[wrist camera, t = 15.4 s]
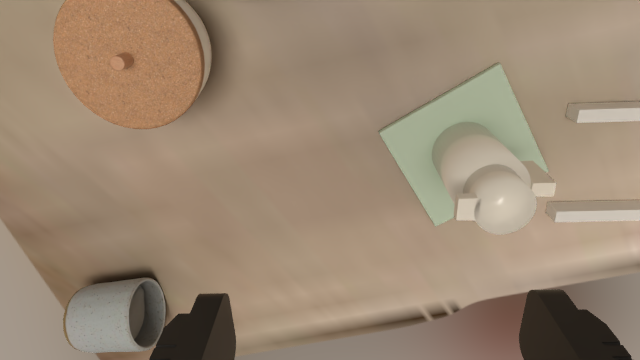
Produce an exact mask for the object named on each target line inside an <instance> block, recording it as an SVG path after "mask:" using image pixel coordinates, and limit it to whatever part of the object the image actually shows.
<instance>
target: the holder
mask: <svg viewBox="0 0 640 360" xmlns="http://www.w3.org/2000/svg"><path fill="white" fill-rule="evenodd" d="M566 117H568V118H569V119H571V120H573V121H574V122H576V123H592V122H624V121H640V101H631V102H601V103H571V104H568V107H567V112H566ZM546 213H547V214H548V216H549V217H550V218H551V219H552V220H553V221H554V222H595V221H640V200H610V201H567V202H548V203H547V208H546Z"/></svg>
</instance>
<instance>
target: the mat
mask: <svg viewBox="0 0 640 360" xmlns="http://www.w3.org/2000/svg"><path fill="white" fill-rule="evenodd" d="M462 122H474V123H478V124H481V125H483V126H484V127H486V128H487V129H488V130H489V131H490V132H491V133H492V134H493V135H494V136H495V137H496V138H497V139H498V140H499V141H500V142H501V143H502V144H503V145H504V146H505V147H506V148H507V149H508V150H509V151H510V152H511V153H512V154H513V155H514V156H515V157H516V158H517V159H518V160H519V161H534V162H535V163H536V164H537V165H538V166H539V167H540V168H541V169H542V170H543V171H545V172H548V171H549V170H548V168H547V166H546V164H545V162H544V159H543V157H542V155H541V153H540V151H539V148H538V146H537V144H536V142H535V139H534V137H533V135H532V133H531V131H530V128H529V126H528V124H527V122H526V120H525V117H524V115H523V113H522V111H521V108H520V106H519V104H518V102H517V100H516V97H515V95H514V93H513V91H512V89H511V86H510V84H509V82H508V80H507V77H506V75H505V73H504V71H503V69H502V66H501V64H500V63H496V64H495V65H493V66H491V67H489V68H488V69H486V70H484V71H482V72H481V73H479V74H477V75H475V76H474V77H472V78H470V79H468V80H467V81H465V82H463V83H462V84H460V85H458V86H456V87H455V88H453V89H451V90H449V91H448V92H446V93H444V94H442V95H441V96H439V97H437V98H435V99H434V100H432V101H430V102H428V103H427V104H425V105H423V106H421V107H420V108H418V109H416V110H414V111H413V112H411V113H409V114H407V115H406V116H404V117H402V118H400V119H399V120H397V121H395V122H393V123H392V124H390V125H388V126H386V127H385V128H383V129H381V130H379V131H378V132H379V134H380V136H381V137H382V139H383V141H384V142H385V144H386V146H387V147H388V149H389V151H390V152H391V154H392V156H393V157H394V159H395V160H396V162H397V164H398V165H399V167H400V169H401V170H402V172H403V174H404V175H405V177H406V179H407V180H408V182H409V184H410V185H411V187H412V189H413V190H414V192H415V194H416V195H417V197H418V198H419V200H420V202H421V203H422V205H423V207H424V208H425V210H426V212H427V213H428V215H429V217H430V218H431V220H432V222H433V223H434V225H435V227H436V226H438V225H440V224H442V223H444V222H446V221H448V220H450V219H452V218H454V206H455V205H454V203H453V201H452V199H451V197H450V195H449V193H448V191H447V189H446V187H445V186H444V184H443V182H442V180H441V178H440V176H439V174H438V172H437V170H436V168H435V166H434V164H433V161H432V149H433V145H434V143H435V141H436V139H437V138H438V136H439V135H440V134H441V133H442V132H443V131H444V130H446V129H447V128H449V127H450V126H452V125H454V124H457V123H462Z"/></svg>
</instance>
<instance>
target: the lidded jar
mask: <svg viewBox="0 0 640 360" xmlns="http://www.w3.org/2000/svg"><path fill="white" fill-rule="evenodd" d="M53 42H54V51H55V56H56V60H57V64H58V66H59V69H60V71H61V74H62V76H63V78H64V80H65V81H66V83H67V85H68V87H69V88H70V89H71V90H72V92H73V93H74V94H75V96H76V97H77V98H78V99H79V100H80V101H81V102H82V103H83V104H84V105H85V106H86V107H87V108H89V109H90V110H91V111H92V112H93V113H95V114H97V115H98V116H100V117H101V118H103V119H105V120H107V121H109V122H111V123H114V124H116V125H120V126H123V127H127V128H133V129H151V128H157V127H160V126H164V125H167V124H169V123H171V122H172V121H174V120H176V119H177V118H179V117H180V116H181V115H183V114H184V113H185V112H186V111H187V110H188V109H189V108H190V106H191V105H192V104H193V103H194V101H195V99H196V98H197V97H198V96H199V95H200V93H201V91H202V90H203V88H204V86H205V84H206V82H207V79H208V77H209V73H210V68H211V58H212V52H211V44H210V40H209V36H208V33H207V31H206V28H205V26H204V24H203V22H202V21H201V19H200V17H199V16H198V14H197V13H196V12H195V11H194V9H193V8H192V7H191V6H190V5H189V4H188V3H187V2H186V1H185V0H65V2H64V3H63V5H62V6H61V8H60V11H59V13H58V15H57V18H56V22H55V27H54V38H53Z"/></svg>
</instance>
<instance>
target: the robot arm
mask: <svg viewBox="0 0 640 360" xmlns="http://www.w3.org/2000/svg"><path fill="white" fill-rule="evenodd" d="M519 343H520V349H521V353H522V356H523V358H524V360H632V359H631V355H630V354H629V353H628V352H627V350H626V349H625V348H624V346H623V345H620V341H619V340H618V339H617V337H616V336H615V335H614V334H613V332H612V331H611V330H610V329H609V327H608V326H607V325H606V324H605V323H604V322H602V321H601V320H600V319H598V318H597V317H596V316H594V315H593V314H592V313H590V312H589V311H588V310H578V309H577V308H576V306H575V305H574V303H573V302H572V301H571V299H570V298H569V297H568V295H567V294H566V293H565V292H564V291H563V290H560V289H558V290H530V291H529V293H528V295H527V299H526V304H525V309H524V314H523V318H522V323H521V328H520V333H519ZM235 350H236V336H235V329H234V323H233V318H232V312H231V306H230V300H229V296H228V294H226V293H224V294H199V295H198V296H197V298H196V301H195V303H194V305H193V308H192V310H191V312H190V314H178V315H177V316H176V317H175V318H174V319H173V320H172V321H171V322H170V323H169V324H168V325H167V326H166V327H165V328H164V329H163V331H162V334H161V336H160V338H159V340H158V342H157V344H156V348H154V350H153V352H152V354H151V356H150V359H149V360H234V357H235Z"/></svg>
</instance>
